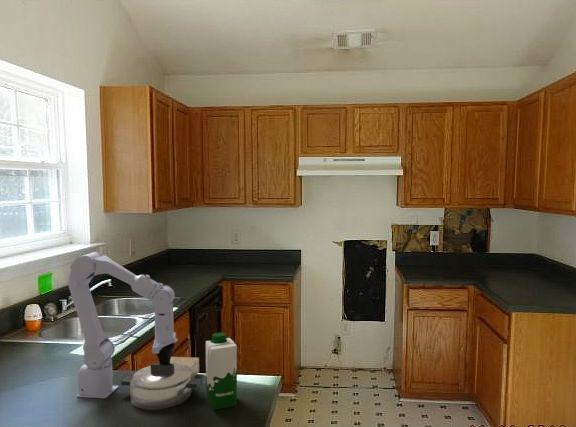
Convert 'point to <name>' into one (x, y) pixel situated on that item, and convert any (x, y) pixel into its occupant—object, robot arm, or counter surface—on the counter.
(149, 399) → the cooker pot
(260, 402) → the counter surface
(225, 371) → the milk carton
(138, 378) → the cooker lid
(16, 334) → the counter surface
